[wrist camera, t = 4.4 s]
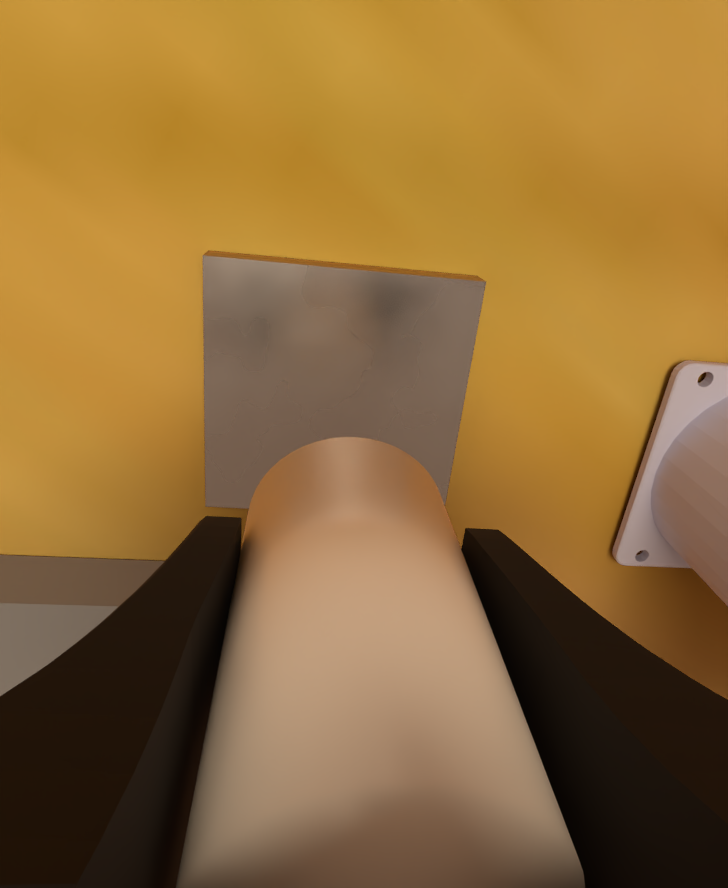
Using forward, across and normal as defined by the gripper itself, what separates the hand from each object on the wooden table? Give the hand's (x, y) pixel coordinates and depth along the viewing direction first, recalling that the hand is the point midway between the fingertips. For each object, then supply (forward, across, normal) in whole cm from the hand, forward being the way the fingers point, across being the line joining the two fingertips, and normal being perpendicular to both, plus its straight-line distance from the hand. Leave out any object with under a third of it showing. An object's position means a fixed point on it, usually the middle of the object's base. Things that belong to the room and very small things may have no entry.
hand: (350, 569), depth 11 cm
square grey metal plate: (+9, 0, 0) cm, 9 cm away
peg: (+1, 0, 0) cm, 1 cm away
